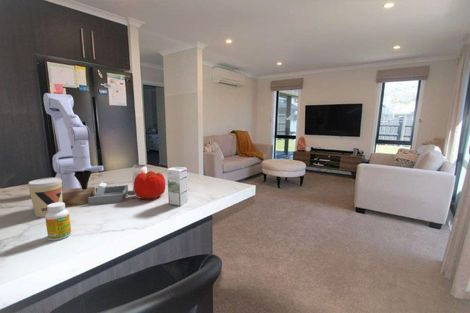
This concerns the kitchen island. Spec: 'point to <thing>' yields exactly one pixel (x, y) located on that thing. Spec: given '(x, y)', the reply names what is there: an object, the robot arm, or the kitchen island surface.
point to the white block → (101, 189)
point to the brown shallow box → (77, 196)
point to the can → (138, 171)
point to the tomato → (149, 185)
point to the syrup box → (177, 185)
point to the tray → (110, 195)
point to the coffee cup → (45, 194)
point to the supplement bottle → (57, 221)
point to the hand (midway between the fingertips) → (84, 189)
